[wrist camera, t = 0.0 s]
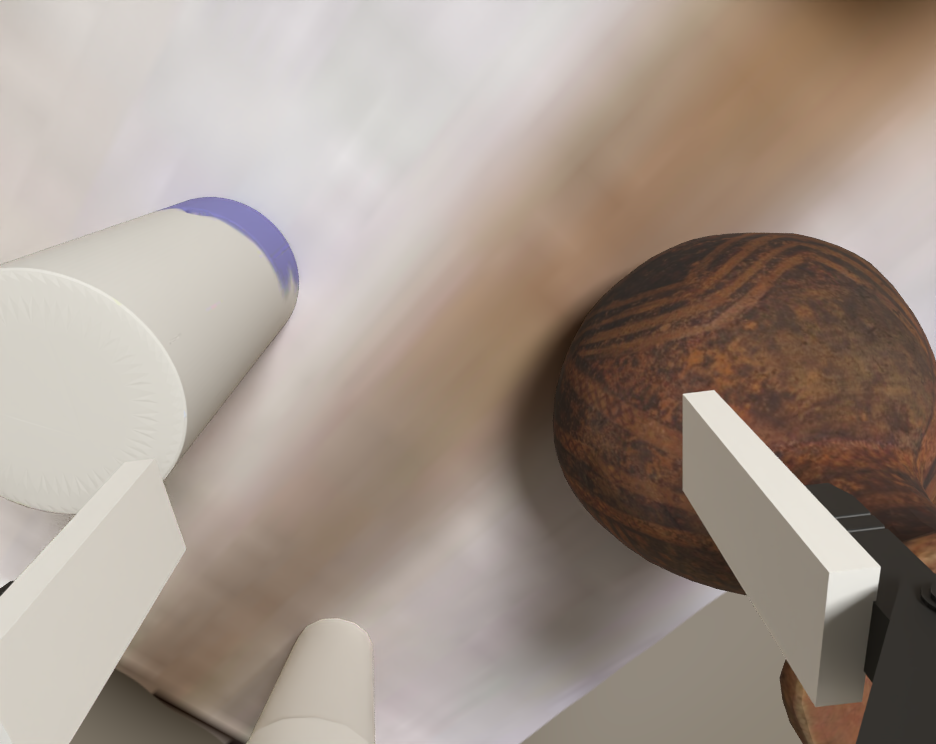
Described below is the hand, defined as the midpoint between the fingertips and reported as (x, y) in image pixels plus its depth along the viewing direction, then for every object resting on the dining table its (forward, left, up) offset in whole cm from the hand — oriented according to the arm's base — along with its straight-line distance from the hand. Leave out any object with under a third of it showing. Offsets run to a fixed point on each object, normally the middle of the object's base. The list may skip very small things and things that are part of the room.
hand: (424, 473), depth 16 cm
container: (0, -14, -28) cm, 32 cm away
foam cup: (+32, -13, -28) cm, 45 cm away
